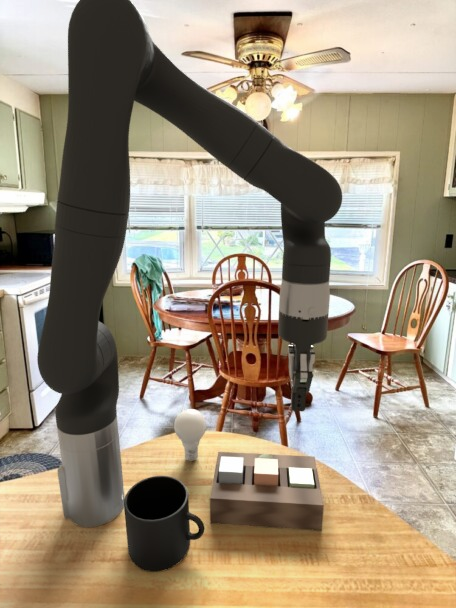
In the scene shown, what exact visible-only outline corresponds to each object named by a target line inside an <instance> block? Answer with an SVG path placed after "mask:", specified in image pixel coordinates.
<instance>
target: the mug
mask: <svg viewBox="0 0 456 608" xmlns="http://www.w3.org/2000/svg"><path fill="white" fill-rule="evenodd" d="M124 498H125V499H124V507H123V510H124V520H125V529H126V532H125V533H126V540H127V541H126V543H127V553H128V557H129V559H130V560H131V562H132V563H133V564H134V566H136V567H138V568H139V569H141V570H143V571H146V572H150V573H151V572H153V573H154V572H155V573H156V572H163V571H166V570H169V569H171V568H173V567H175V566H177V565H178V564H180V562H181V561H183V559H184V557H185V556H186V554H187V553H188V551H189V548H190V546H191V541H196V540H199V539H200V538H202V537H203V535H204V534H205V529H206V528H205V524H204V522H203V521H202V519H201V518H200V517H199V516H197V515H196V514H193V513H191V512H190V507H189V506H190V501H189V499H190V498H189V491H188V488H187V486H186V485H185V484H184V482H182V481H181V480H180V479H178V478H176V477H173V476H170V475H169V476H168V475H155V476H154V475H153V476H150V477H146V478H144V479H142V480H140V481H138V482H137V483H135V484H133V486H131V487H130V488H129V489H128V491H127V492H126V494H125V495H124ZM190 521H192V522H194V523H195V524H196V525H197V528H198V531H197V532H195V533H193V532H191V528H190V527H191V526H190Z"/></svg>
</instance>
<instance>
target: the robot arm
mask: <svg viewBox="0 0 456 608" xmlns="http://www.w3.org/2000/svg"><path fill="white" fill-rule="evenodd" d="M67 29H68V30H67V66H68V67H67V68H68V69H67V75H68V76H67V78H68V79H67V83H68V85H67V86H68V88H67V89H68V96H67V97H68V104H67V105H68V106H67V120H66V121H67V123H66V129H65V130H66V132H65V136H64V143H63V144H64V145H63V149H62V158H61V166H60V177H59V186H58V194H57V197H56V198H57V201H56V209H55V218H54V219H55V220H54V221H55V222H54V240H53V241H54V242H53V252H52V259H51V269H50V270H51V271H50V281H49V282H50V285H49V295H48V301H47V306H46V311H45V316H44V321H43V326H42V330H41V335H40V340H39V344H38V348H37V349H38V350H37V356H36V357H37V359H36V362H37V367H38V371H39V374H40V376H41V379H42V380H43V381H44V383H45V385H47V386H48V387H49V389H51V390H52V391H54V392H55V393H57V394H58V393H59V394H61V395H60V397H59V399H58V402H57V404H56V407H55V410H54V412H55V413H54V414H55V424H56V430H57V438H58V442H59V443H58V444H59V451H60V457H61V464H60V465H59V466H58V468H57V470H56V472H57V477H58V478H57V479H58V484H59V492H60V499H61V506H62V507H61V508H62V512H63V518H64V519H69V520H71V521H72V522H73V524H75V525H76V526H78V527H82V528H95V527H99V526H103V525H104V524H107V523H109V522H112V521H113V520H114V519H115V518H117V517H118V516H119V515H120V514H121V513H122V510H124V499H125V488H124V478H123V477H124V476H123V466H122V457H121V456H122V455H121V454H122V453H121V445H120V433H119V423H118V414H117V410H118V409H117V405H118V398H119V393H120V379H119V376H120V375H119V359H118V358H119V357H118V351H117V349H118V347H117V344H116V339H115V337H114V336H113V333H112V331H111V330H110V328H109V327H108V326H107V325H106V324H104V323H103V322H101V321H100V314H101V309H102V305H103V301H104V298H105V296H106V293H107V291H108V289H109V286H110V284H111V281H112V278H113V277H114V275H115V272H116V270H117V268H118V264H119V261H120V260H121V259H120V258H121V255H122V252H123V248H124V245H125V241H126V235H127V231H128V230H127V227H128V221H129V213H130V206H131V205H130V204H131V166H130V165H131V164H130V151H129V150H130V149H129V148H130V147H129V141H130V140H129V139H130V137H129V136H130V128H131V118H132V112H133V108H134V102H135V103H138V104H140V105H142V106H144V107H145V108H147V109H149V110H151V112H154V113H156V115H159V116H160V117H162V118H164V120H166V121H168V122H169V123H171V124H172V125H173V126H174V127H176V128H177V129H179V130H180V131H181V132H182V133H184V134H185V135H186V136H188V138H189V139H191V140H193V141H194V142H195V143H196V144H197V145H198V146H200V147H201V148H202V149H203V150H205V152H207V153H208V155H211V156H212V157H213V158H214V159H216V160H217V161H218V162H220V164H221V165H224V166H225V167H226V168H228V169H229V171H231V172H233V173H234V174H235V175H237V176H238V177H239V178H240V179H243V180H244V182H246V183H248V184H249V185H251V186H252V187H255V188H257V189H261V190H262V191H264V192H266V193H267V194H269V196H271V197H272V198H273V199H275V200H276V201H278V202H279V203H280V220H281V233H282V240H283V255H282V268H281V272H282V273H281V285H280V290H279V302H278V321H277V322H278V325H277V327H278V328H277V333H278V337H279V338H280V339H281V340H282V341H285V342H288V343H290V344H288V345H287V354H288V373H289V378H290V388H291V396H290V398H291V400H290V406H291V410H292V411H293V412H305V410H306V401H307V400H306V399H307V394H310V390H311V385H312V382H313V378H314V374H313V365H314V364H315V361H316V352H315V351H314V346H313V345H317V344H321V343H323V342H324V341H325V340H326V339H327V337H328V325H329V313H330V311H329V310H330V301H331V294H330V293H331V291H330V277H331V276H330V275H331V263H332V261H331V260H332V250H331V246H330V244H329V243H328V240H327V239H326V227H325V226H326V222H328V221H329V220H331V219H333V218H334V217H335V216H336V215H337V214H338V212H339V210H340V209H341V206H342V203H343V191H342V188H341V185H340V183H339V182H338V180H337V179H336V178H335V177H334V175H332V173H331V172H329V170H327V169H325V168H324V167H323V166H321V165H320V164H318V163H317V162H315V161H314V160H312V159H310V158H308V157H307V156H305V155H303V154H302V153H300V152H298V151H296V150H295V149H293V148H291V147H289V146H288V145H287V144H285V143H284V142H283V141H281V140H280V138H278V137H277V136H276V135H275V134H274V133H272V132H271V131H270V130H269V129H268V128H266V127H265V126H264V125H262V123H260V122H258V121H257V120H256V119H254V118H253V117H252V116H251V115H249V114H248V113H247V112H245V111H244V110H242V109H241V108H239V107H238V106H236V105H235V104H233V103H231V102H230V101H228V100H226V99H224V98H223V97H220V96H219V95H217V94H215V93H214V92H212V91H210V90H208V89H207V88H206V87H204V86H203V85H201V84H199V83H198V82H197V81H196V80H194V79H192V78H191V76H188V75H187V74H186V73H185V72H183V70H181V69H180V68H179V67H178V66H177V65H176V64H175V63H174V62H173V61H172V60H171V59H170V58H169V57H168V56H167V55H166V54H165V53H164V52H163V50H161V48H160V47H159V46H158V45H157V44H156V43H155V42H154V40H153V39H152V36H151V34H150V30H149V28H148V26H147V23H146V21H145V19H144V16H143V15H142V14H141V12H140V10H139V9H138V8H137V6H136V5H135V4H134V3H133V2H132V1H131V0H78V2H77V3H76V4H75V6H74V8H73V10H72V13H71V16H70V19H69V23H68V28H67Z"/></svg>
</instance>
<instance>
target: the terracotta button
mask: <svg viewBox="0 0 456 608" xmlns="http://www.w3.org/2000/svg"><path fill="white" fill-rule="evenodd" d="M254 485H262V486H278V459H263V458H255V469H254Z"/></svg>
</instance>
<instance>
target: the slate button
mask: <svg viewBox="0 0 456 608" xmlns="http://www.w3.org/2000/svg"><path fill="white" fill-rule="evenodd" d="M243 479H244V458H243V457H224V456H221V461H220V467H219V483H227V484H243Z"/></svg>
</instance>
